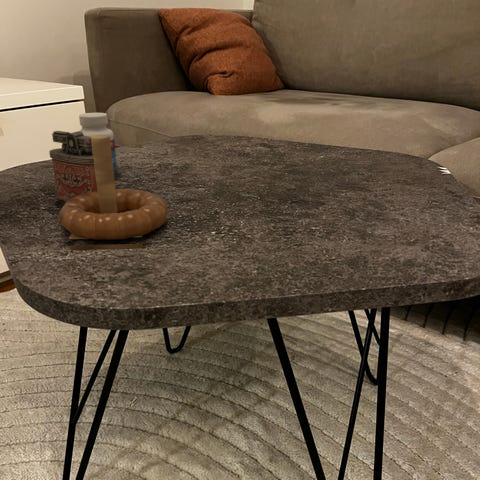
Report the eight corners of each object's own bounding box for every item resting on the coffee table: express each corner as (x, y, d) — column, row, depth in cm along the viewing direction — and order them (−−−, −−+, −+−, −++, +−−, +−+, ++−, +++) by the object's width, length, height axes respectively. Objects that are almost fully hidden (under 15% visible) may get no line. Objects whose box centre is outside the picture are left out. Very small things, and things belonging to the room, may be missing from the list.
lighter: (115, 211, 77) (106, 133, 73) (97, 218, 75) (87, 137, 70) (70, 202, 81) (59, 126, 76) (51, 209, 78) (39, 131, 74)
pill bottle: (111, 186, 88) (103, 118, 83) (76, 185, 88) (67, 117, 84) (123, 177, 92) (116, 111, 88) (90, 175, 93) (82, 111, 89)
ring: (51, 244, 63) (47, 219, 62) (73, 209, 73) (70, 187, 72) (164, 242, 63) (162, 217, 62) (170, 207, 74) (169, 185, 73)
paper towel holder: (70, 250, 65) (54, 144, 60) (82, 226, 72) (69, 129, 67) (143, 248, 66) (134, 143, 60) (148, 224, 73) (140, 128, 67)
